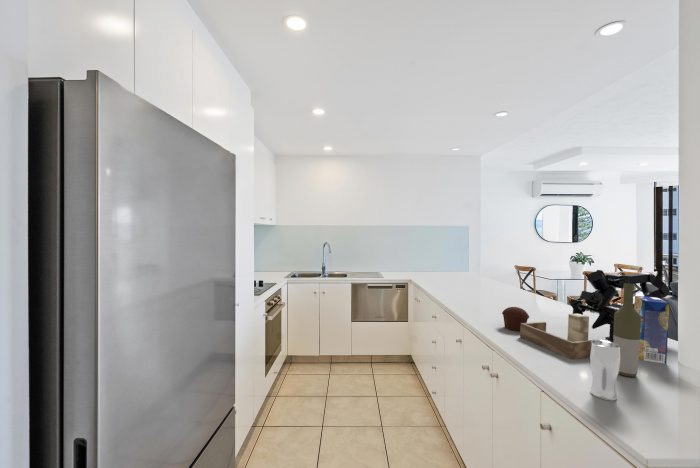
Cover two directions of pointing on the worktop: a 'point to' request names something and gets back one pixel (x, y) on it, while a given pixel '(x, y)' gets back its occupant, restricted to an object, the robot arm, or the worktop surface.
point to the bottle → (627, 333)
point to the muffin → (514, 318)
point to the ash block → (578, 327)
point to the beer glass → (604, 368)
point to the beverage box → (653, 328)
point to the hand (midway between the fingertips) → (581, 324)
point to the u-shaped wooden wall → (554, 341)
